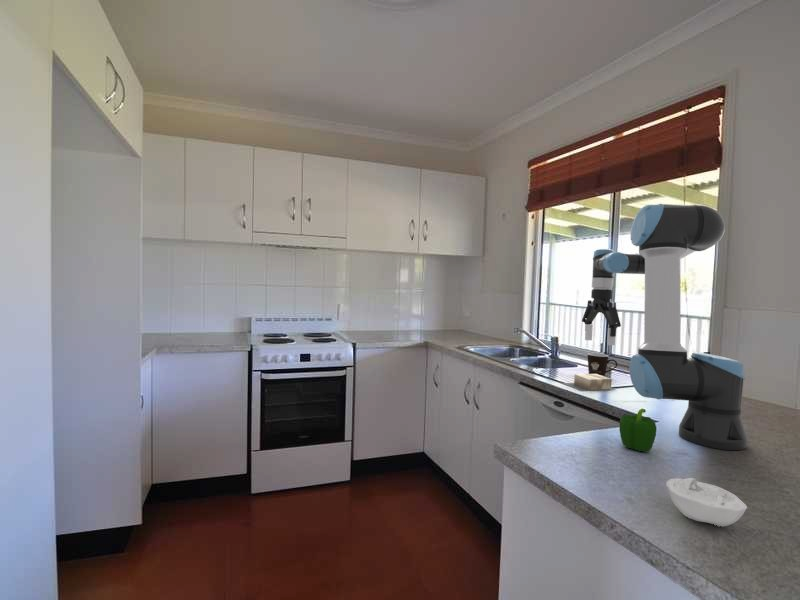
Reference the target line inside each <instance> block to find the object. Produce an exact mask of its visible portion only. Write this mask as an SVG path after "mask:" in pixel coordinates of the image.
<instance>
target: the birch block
mask: <svg viewBox="0 0 800 600" xmlns="http://www.w3.org/2000/svg"><path fill="white" fill-rule="evenodd" d="M573 377H574V380H573V383H574V384H575V385H578V386H580V387H583V388H585V389H588V390H599V389H611V388H612V380H613V379H612V378H611V377H610V378H609V377H606V376H605V377H604V376H601V375H598V374H589V373H576V374H575V373H574V376H573Z"/></svg>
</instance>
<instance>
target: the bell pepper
mask: <svg viewBox="0 0 800 600" xmlns="http://www.w3.org/2000/svg"><path fill="white" fill-rule="evenodd" d="M646 412H647V410H646V409H645V408H640V409H639V410H638V411H637V414H631V415H629V414H622V415H621V416H620V419H619V430H618V431H619V435H620V439H621V443H622V445H623V446H624V445H625V446H626V447H628V448H627V449H629V448H631V450H635V451H637V450H638V452H640V451H646V452H645V453H647V451H648V452H650V451H651V450H652V449H653V448H652V447H653V445H654V442H655V439H656V436H657V425H656V422H655V421H654V420H653V419H652V418H651V417H649V416H644V417H642V416H643V415H642V414H643V413H646ZM625 446H624V447H625ZM626 447H625V448H626Z"/></svg>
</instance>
